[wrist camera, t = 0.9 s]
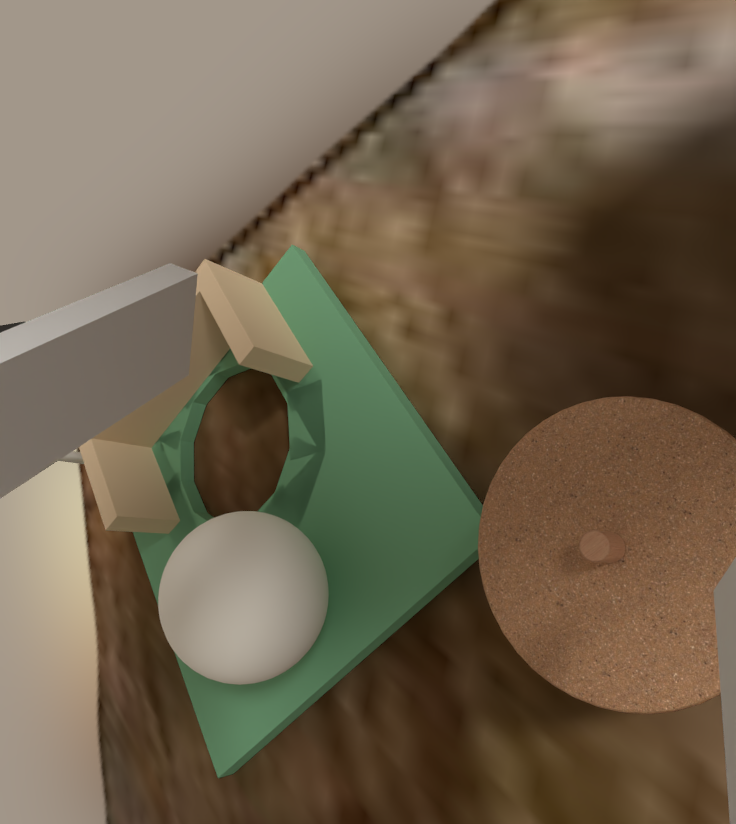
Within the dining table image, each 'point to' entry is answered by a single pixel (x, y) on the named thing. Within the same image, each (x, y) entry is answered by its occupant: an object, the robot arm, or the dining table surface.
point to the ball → (243, 597)
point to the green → (295, 484)
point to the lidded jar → (614, 551)
